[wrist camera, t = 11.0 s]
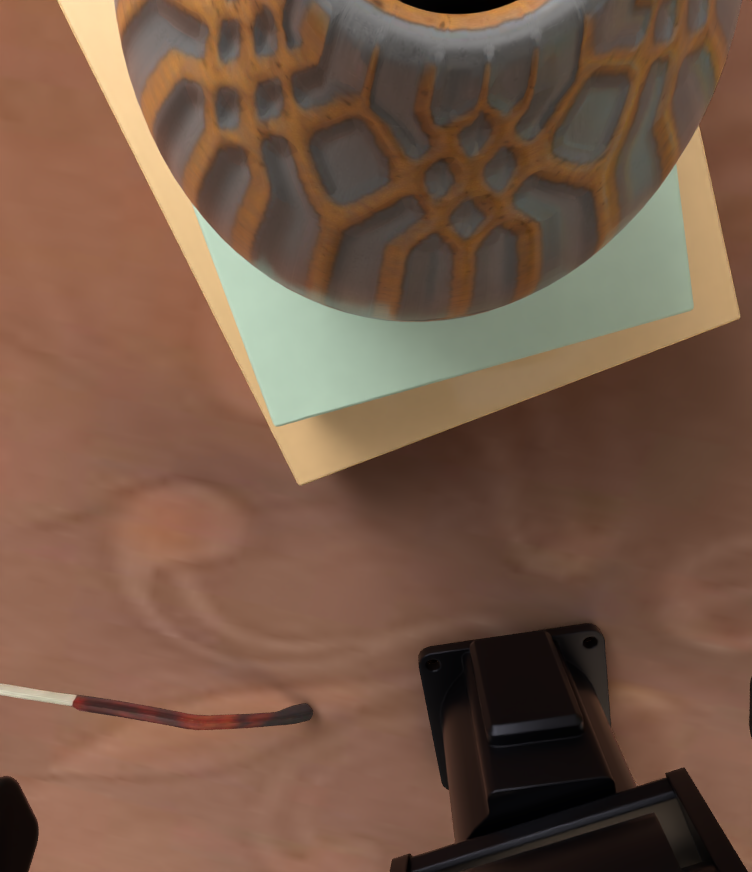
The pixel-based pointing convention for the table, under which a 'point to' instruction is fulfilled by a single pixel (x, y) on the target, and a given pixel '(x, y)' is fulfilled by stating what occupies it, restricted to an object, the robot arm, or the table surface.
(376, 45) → the vase
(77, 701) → the sunglasses
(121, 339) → the table surface
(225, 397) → the table surface
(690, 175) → the box stack
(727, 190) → the table surface
